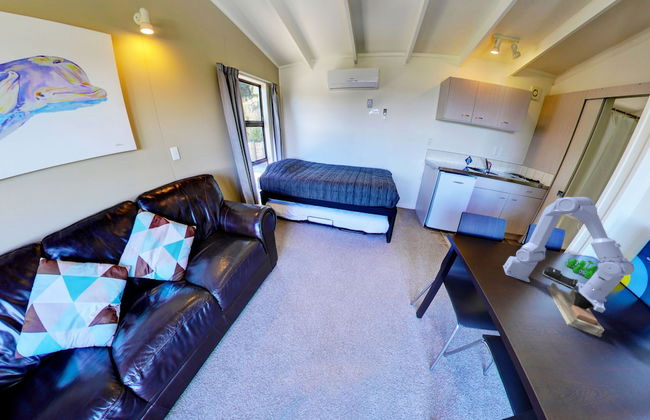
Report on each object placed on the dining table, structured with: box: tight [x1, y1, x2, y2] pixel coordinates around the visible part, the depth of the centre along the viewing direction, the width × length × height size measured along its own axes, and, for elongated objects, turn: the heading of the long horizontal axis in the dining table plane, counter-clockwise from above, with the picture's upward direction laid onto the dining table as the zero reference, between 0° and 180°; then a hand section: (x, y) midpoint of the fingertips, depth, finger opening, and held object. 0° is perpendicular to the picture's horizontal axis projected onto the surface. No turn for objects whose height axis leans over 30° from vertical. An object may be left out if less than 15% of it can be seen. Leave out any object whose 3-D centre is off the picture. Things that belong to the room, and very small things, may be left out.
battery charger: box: [542, 266, 579, 290], centre depth 102 cm, size 7×4×11 cm
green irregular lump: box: [564, 257, 598, 280], centre depth 108 cm, size 15×15×7 cm
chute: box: [546, 282, 605, 338], centre depth 85 cm, size 9×22×4 cm, turn 150°
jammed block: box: [571, 305, 598, 325], centre depth 80 cm, size 5×5×4 cm
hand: (576, 310), depth 83 cm, fingers closed
